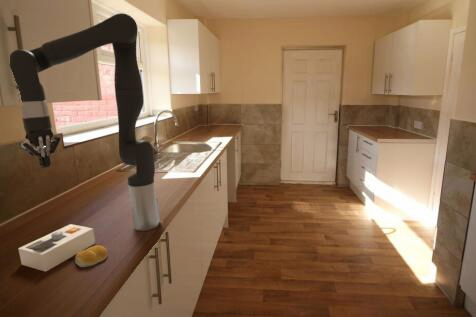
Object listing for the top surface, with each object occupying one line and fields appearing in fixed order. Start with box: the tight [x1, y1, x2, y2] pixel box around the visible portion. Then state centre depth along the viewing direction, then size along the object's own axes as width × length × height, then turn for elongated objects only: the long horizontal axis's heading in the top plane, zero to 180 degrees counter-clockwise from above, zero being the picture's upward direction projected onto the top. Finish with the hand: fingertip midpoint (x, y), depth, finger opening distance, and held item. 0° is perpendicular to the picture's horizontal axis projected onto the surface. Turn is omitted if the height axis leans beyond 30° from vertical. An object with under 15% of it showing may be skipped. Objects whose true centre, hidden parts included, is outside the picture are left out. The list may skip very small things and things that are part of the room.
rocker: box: [28, 238, 54, 250], centre depth 95 cm, size 4×7×1 cm, turn 66°
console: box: [17, 223, 96, 272], centre depth 100 cm, size 18×11×6 cm, turn 156°
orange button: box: [67, 228, 78, 234], centre depth 105 cm, size 3×3×2 cm
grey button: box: [51, 231, 64, 242], centre depth 100 cm, size 3×3×2 cm
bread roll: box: [74, 244, 108, 268], centre depth 96 cm, size 8×9×4 cm
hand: (45, 167), depth 104 cm, fingers closed
